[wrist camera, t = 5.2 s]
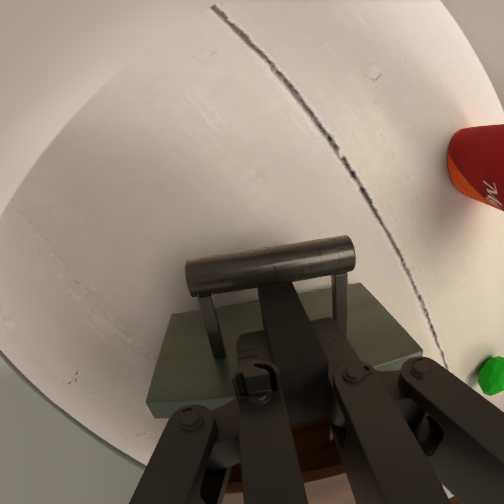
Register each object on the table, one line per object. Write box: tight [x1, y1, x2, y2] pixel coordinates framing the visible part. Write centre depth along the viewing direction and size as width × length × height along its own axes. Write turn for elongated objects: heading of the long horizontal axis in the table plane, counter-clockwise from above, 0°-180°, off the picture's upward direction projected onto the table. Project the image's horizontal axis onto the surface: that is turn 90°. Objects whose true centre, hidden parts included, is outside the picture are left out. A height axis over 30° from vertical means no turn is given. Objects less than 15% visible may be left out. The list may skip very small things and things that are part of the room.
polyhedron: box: [478, 356, 504, 396], centre depth 23 cm, size 5×5×5 cm
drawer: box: [146, 235, 423, 483], centre depth 16 cm, size 19×13×8 cm
